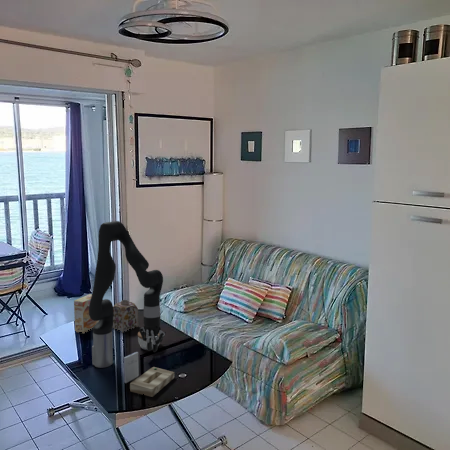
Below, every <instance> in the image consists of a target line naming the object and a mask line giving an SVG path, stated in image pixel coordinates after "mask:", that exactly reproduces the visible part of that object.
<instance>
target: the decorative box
mask: <svg viewBox="0 0 450 450" xmlns="http://www.w3.org/2000/svg"><path fill="white" fill-rule="evenodd" d="M158 336H159V334H158ZM158 338H159V337H158ZM137 341H138V345H139V346H140V348H141V349H142V350H145V351H148V349H147V342H146V341H143V338H142V336H141V334H140V332H139V331H138V332H137ZM151 342H152V350H151V351H153V340H152V341H151ZM160 344H161V343H159V344H158V347H159V346H160Z"/></svg>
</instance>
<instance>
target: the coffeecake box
mask: <svg viewBox="0 0 450 450" xmlns="http://www.w3.org/2000/svg"><path fill="white" fill-rule="evenodd" d="M91 296H92V294H91V293H89V294H87V295H84V296H82V297H79V298H77V299H75V300H73V311H74V312H73V313H74V317H73V318H74V332H75V331H76V333H79V332H82V333H81V334H85V332H86V333H87V332H89V331H91V330H93V329H92V328H93V327H94V325H96V324H97V323H98V322H99V321H100V320H98V321H93V320H92V319H91V318H90V316H89V305H90V300H91ZM90 329H91V330H90ZM88 330H89V331H88Z"/></svg>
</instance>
